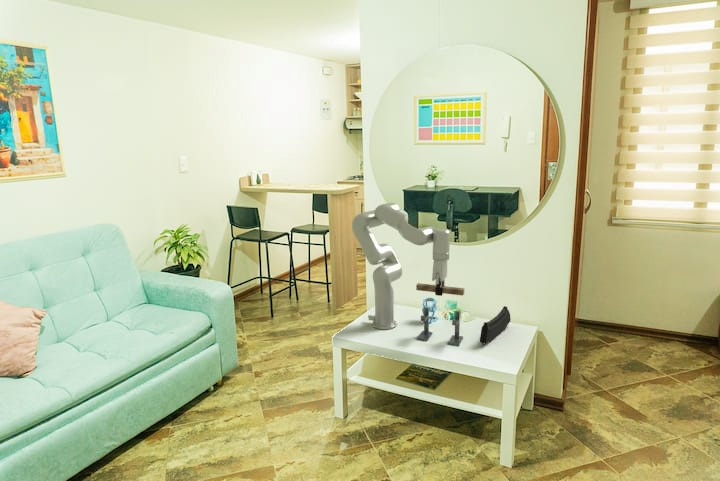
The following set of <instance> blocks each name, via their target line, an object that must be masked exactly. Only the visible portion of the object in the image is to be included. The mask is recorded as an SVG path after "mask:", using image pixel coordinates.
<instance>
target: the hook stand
mask: <svg viewBox="0 0 720 481" xmlns="http://www.w3.org/2000/svg"><path fill="white" fill-rule="evenodd" d="M429 316H430V312H429V307H425V308H424V316H423V314H422V315H420V322H423V323H424V324H423V326H424V327H423V330H422V331H421V332H420V333H419V335H418V336H417V338H416V339H417V340H418V341H425V342H428V341H429V340H430V338H431V337H432V335H433V332H432V331H430V330H429V329H430V326H429V325H430V324H429V321H430V318H429ZM451 322H452V323H451V325H452V326H454V334H452V335H451V337H450V339H449V340H448V342H447V343H448V345H451V346H456V347H457V346H458V347H459V346H460V345H461V343H462V342H463V340H464V336H462V335H460V328H461V325H460V324H461V323H460V322H461V311H460V310H454V319H452V320H451Z"/></svg>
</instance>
